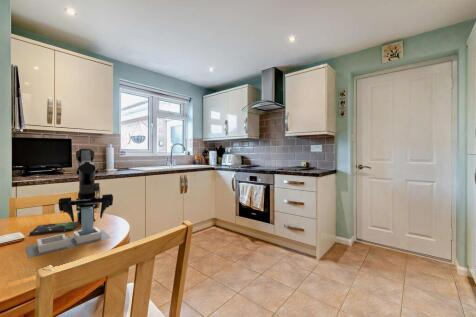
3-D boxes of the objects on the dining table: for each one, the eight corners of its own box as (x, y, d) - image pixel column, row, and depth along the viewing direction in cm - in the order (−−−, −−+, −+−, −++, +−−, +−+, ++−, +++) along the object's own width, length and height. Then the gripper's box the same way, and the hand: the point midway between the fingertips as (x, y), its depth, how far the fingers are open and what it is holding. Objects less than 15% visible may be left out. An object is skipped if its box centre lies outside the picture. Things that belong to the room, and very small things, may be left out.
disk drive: (29, 239, 92) (73, 234, 98) (28, 233, 92) (73, 227, 98) (38, 231, 101) (78, 226, 108) (38, 225, 101) (77, 220, 108)
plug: (89, 235, 94) (89, 206, 93) (95, 237, 92) (95, 208, 91) (79, 238, 90) (79, 209, 89) (85, 240, 88) (85, 210, 88)
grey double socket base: (102, 231, 100) (102, 224, 100) (111, 239, 92) (111, 231, 92) (25, 249, 82) (25, 239, 82) (27, 261, 74) (27, 250, 74)
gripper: (58, 178, 88) (55, 212, 80) (112, 175, 99) (115, 206, 90) (60, 194, 95) (58, 227, 87) (111, 190, 106) (113, 220, 97)
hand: (87, 219), depth 90 cm, fingers open, 9 cm apart
